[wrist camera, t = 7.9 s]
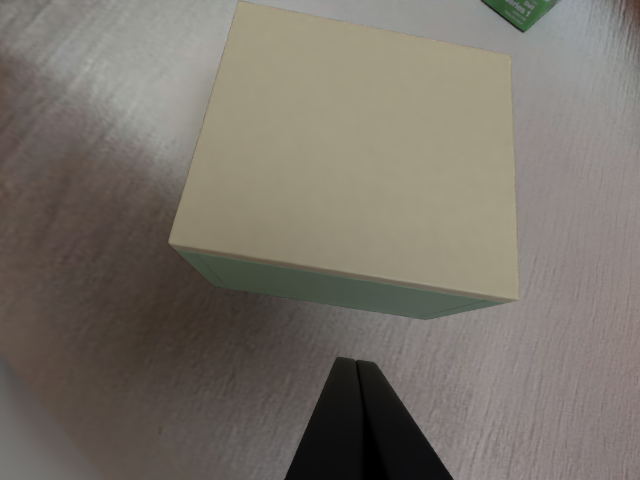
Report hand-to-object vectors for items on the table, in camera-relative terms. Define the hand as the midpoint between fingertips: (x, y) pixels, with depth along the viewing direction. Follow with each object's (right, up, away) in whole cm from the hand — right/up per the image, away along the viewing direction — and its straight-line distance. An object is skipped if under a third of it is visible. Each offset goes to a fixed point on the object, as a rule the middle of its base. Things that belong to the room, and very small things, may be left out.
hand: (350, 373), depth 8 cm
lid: (+1, +7, +7) cm, 10 cm away
